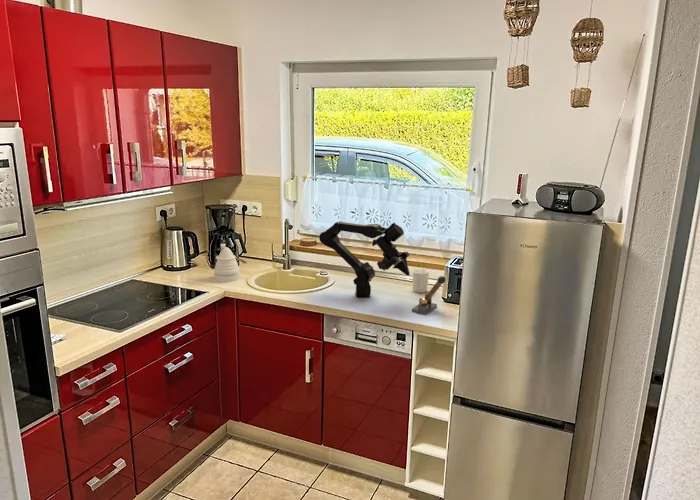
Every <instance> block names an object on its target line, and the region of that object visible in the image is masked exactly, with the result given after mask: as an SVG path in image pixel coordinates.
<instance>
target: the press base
mask: <svg viewBox="0 0 700 500" xmlns="http://www.w3.org/2000/svg"><path fill="white" fill-rule="evenodd" d="M427 294H428V293H426V294H424V297H420V298H419V299H418V300H419V301H418V304H417V305H415V306H414V307H412V309H411V312H412V313H417V314H422V315H428V314H430V313H431V312H432V311H433V310H435V309H436V308H437V307H438V304H437V303H435V302H434V303H433V302H432V301H433V300H432V299H433V298H431V299H430V300H429V301H428V303H427V299H425V297H426V295H427Z"/></svg>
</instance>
